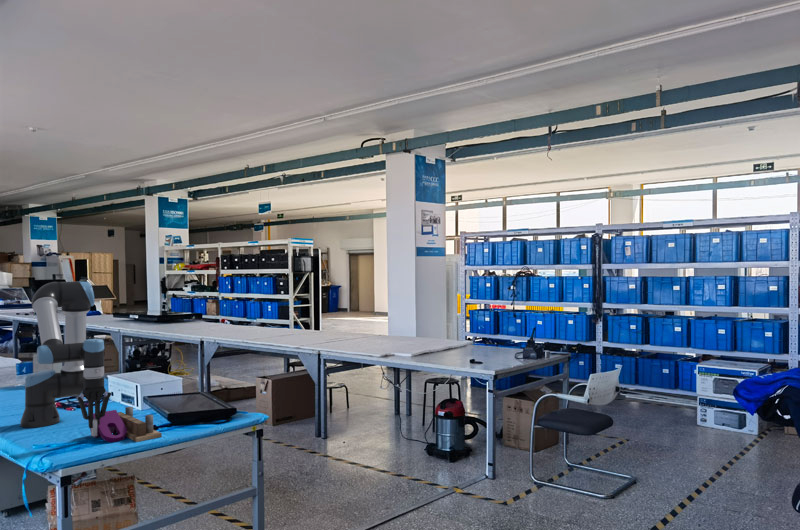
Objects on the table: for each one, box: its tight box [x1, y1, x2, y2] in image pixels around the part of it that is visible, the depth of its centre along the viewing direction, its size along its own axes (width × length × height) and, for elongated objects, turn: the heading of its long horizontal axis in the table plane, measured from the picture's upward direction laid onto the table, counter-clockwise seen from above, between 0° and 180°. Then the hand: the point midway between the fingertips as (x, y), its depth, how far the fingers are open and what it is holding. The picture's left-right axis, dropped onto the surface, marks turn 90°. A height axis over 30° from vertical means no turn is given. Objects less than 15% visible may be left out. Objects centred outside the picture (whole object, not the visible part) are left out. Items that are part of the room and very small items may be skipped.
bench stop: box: [117, 406, 163, 443], centre depth 244 cm, size 32×10×8 cm, turn 45°
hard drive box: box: [32, 353, 63, 374], centre depth 354 cm, size 16×8×20 cm, turn 74°
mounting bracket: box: [89, 409, 127, 443], centre depth 237 cm, size 9×8×18 cm
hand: (94, 435), depth 233 cm, fingers closed
